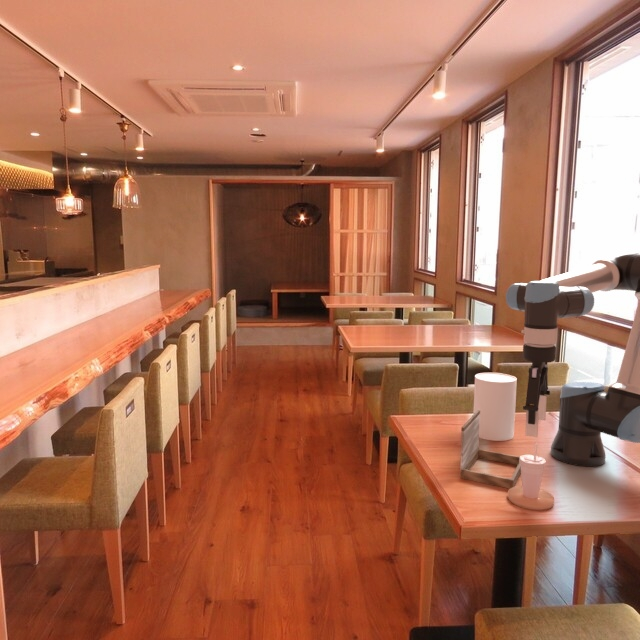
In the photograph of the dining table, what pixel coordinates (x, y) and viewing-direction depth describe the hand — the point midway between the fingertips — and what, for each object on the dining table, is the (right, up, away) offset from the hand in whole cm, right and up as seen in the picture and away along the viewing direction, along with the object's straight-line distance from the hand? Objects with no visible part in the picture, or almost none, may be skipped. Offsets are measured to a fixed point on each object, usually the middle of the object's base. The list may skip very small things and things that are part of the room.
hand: (535, 427), depth 135 cm
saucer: (0, -19, +3) cm, 19 cm away
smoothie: (0, -18, +2) cm, 18 cm away
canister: (+6, -13, +51) cm, 52 cm away
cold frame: (-4, -17, +20) cm, 26 cm away
